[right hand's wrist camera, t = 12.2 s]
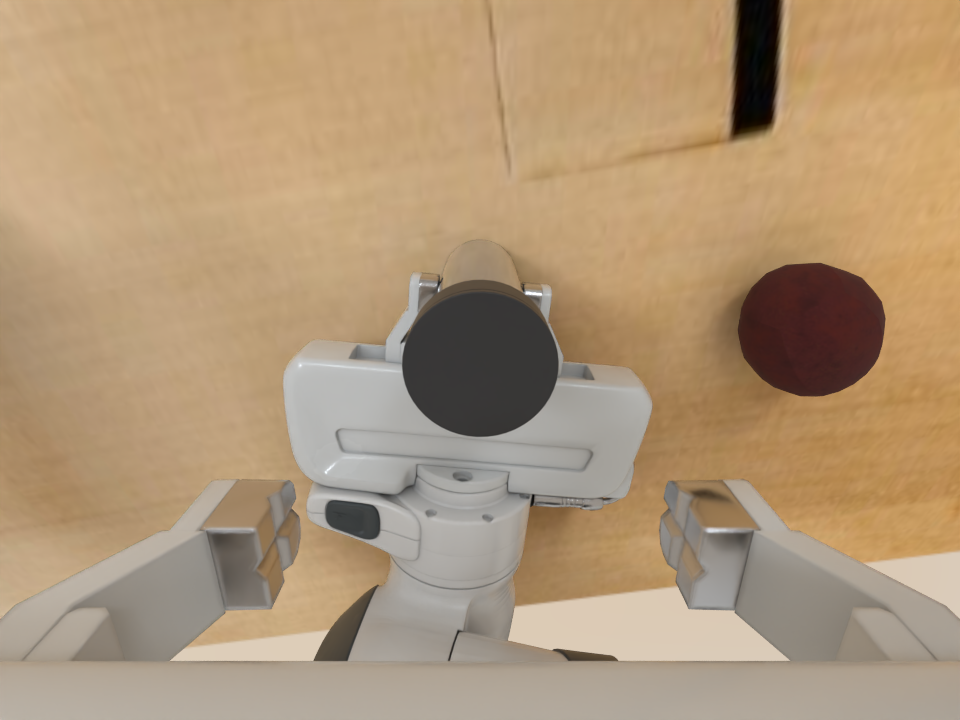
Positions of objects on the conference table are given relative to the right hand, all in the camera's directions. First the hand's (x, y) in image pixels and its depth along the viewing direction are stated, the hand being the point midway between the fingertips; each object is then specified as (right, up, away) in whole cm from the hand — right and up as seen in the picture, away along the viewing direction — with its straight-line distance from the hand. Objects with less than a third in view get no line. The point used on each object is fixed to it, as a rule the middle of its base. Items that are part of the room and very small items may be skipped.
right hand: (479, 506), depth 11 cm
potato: (+19, +6, +22) cm, 30 cm away
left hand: (0, +7, +16) cm, 18 cm away
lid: (0, +3, +7) cm, 8 cm away
